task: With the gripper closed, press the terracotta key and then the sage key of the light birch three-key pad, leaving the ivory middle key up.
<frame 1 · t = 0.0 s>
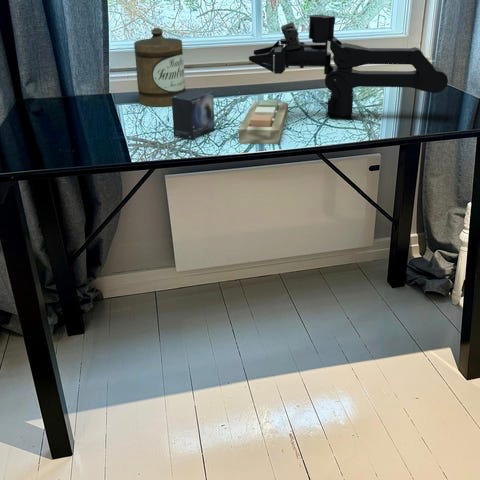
hand: (251, 55, 155), 17 cm above the table, tool horizontal, fingers open, 9 cm apart
wooden container: (163, 101, 179), on the table
key ivory: (265, 114, 149), point 4 cm above the table, slide at 0.0 cm
key sage: (268, 106, 156), point 4 cm above the table, slide at 0.0 cm
small box: (194, 133, 148), on the table
keypad housing: (265, 127, 151), on the table
key terracotta: (261, 122, 143), point 4 cm above the table, slide at 0.0 cm
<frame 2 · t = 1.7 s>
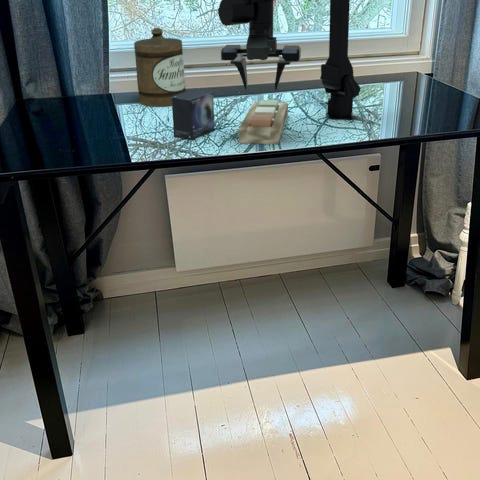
hand: (261, 89, 139), 12 cm above the table, tool pointing down, fingers open, 7 cm apart
nothing on the table moved.
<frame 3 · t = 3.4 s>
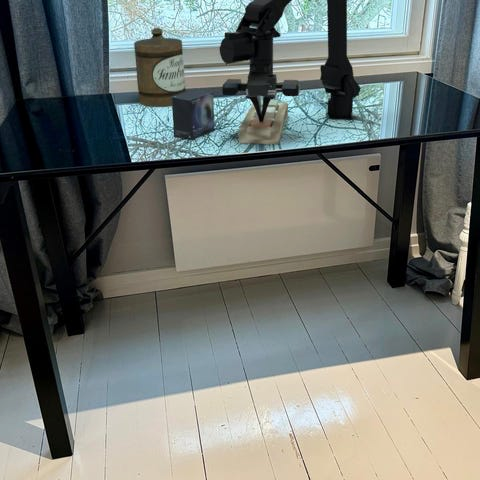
hand: (261, 121, 142), 4 cm above the table, tool pointing down, fingers closed, pressing on key terracotta
key terracotta: (261, 126, 143), point 3 cm above the table, slide at 1.1 cm, touching gripper
everything else where it was.
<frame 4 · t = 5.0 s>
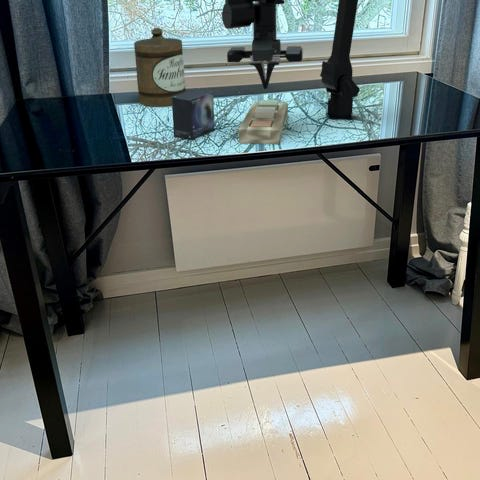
hand: (265, 88, 145), 11 cm above the table, tool pointing down, fingers closed
key terracotta: (261, 128, 143), point 2 cm above the table, slide at 1.5 cm, touching keypad housing
everything else where it was.
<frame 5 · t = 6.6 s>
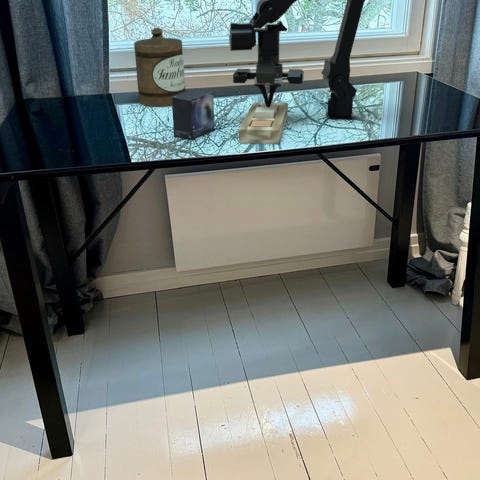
hand: (268, 107, 156), 3 cm above the table, tool pointing down, fingers closed, pressing on key sage
key sage: (268, 112, 156), point 2 cm above the table, slide at 1.5 cm, touching gripper
everything else where it was.
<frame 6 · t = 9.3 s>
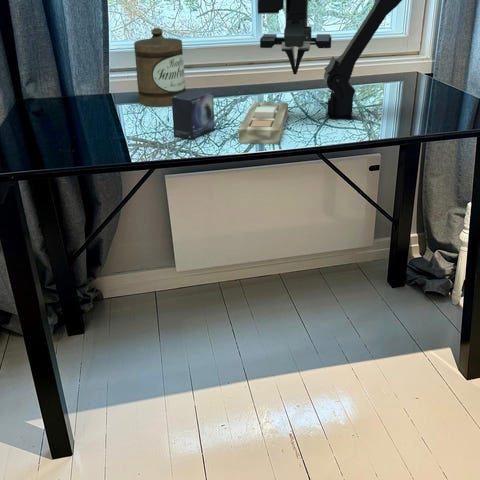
hand: (295, 74, 154), 12 cm above the table, tool pointing down, fingers closed
key sage: (268, 112, 156), point 2 cm above the table, slide at 1.5 cm, touching keypad housing
everything else where it was.
at the end: key terracotta slide at 1.5 cm; key sage slide at 1.5 cm; key ivory slide at 0.0 cm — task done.
